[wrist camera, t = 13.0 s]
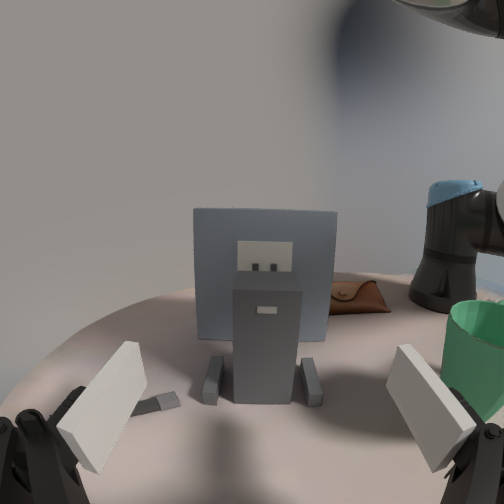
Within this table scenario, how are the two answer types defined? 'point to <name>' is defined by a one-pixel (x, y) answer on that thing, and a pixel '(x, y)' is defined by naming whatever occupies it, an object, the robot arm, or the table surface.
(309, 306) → the outlet board
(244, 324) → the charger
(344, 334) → the table surface
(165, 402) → the grey long bar
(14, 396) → the table surface
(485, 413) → the mug
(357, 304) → the sunglasses case
